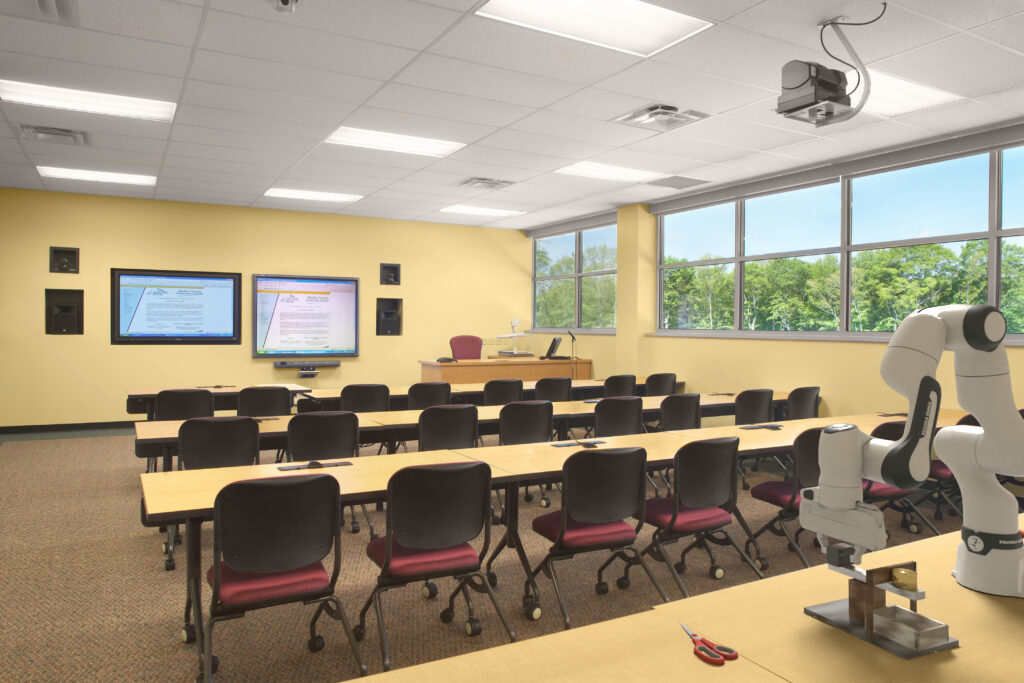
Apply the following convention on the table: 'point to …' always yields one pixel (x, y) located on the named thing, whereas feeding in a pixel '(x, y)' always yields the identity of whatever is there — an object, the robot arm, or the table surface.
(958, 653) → the table surface
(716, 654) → the scissors
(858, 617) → the shaft stand
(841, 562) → the steel shaft
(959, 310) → the robot arm
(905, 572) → the brass spacer
